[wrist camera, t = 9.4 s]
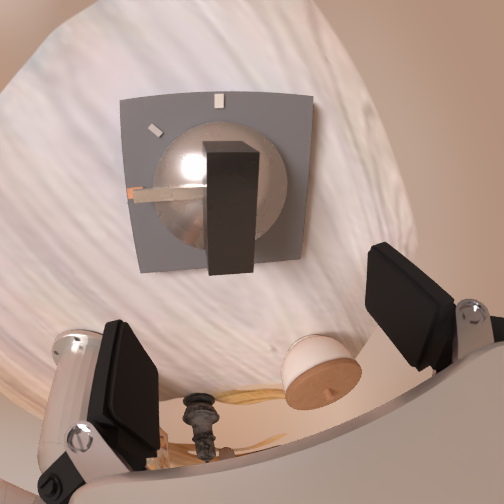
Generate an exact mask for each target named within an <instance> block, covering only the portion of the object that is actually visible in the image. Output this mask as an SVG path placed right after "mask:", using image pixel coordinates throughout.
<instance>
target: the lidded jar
mask: <svg viewBox="0 0 504 504" xmlns="http://www.w3.org/2000/svg"><path fill="white" fill-rule="evenodd" d="M361 374H362V369H361V367H360V365H359V364H358V363H357V361H356V360H355V359H354V357H353V356H352V354H351V353H350V352H349V350H348V349H347V348H346V347H345V346H344V345H343V344H342V343H340V342H339V341H337V340H336V339H333V338H330V337H326V336H321V335H308V336H305V337H303V338H301V339H299V340H297V341H296V342H295V343H293V344H292V345H291V347H290V348H289V350H288V353H287V354H286V356H285V358H284V360H283V363H282V367H281V380H282V385H283V389H284V392H285V396H286V401H287V403H288V405H289V406H290V407H292V408H294V409H297V410H312V409H316V408H320V407H323V406H326V405H329V404H331V403H333V402H335V401H337V400H339V399H340V398H342V397H343V396H345V395H346V394H347V393H349V392H350V391H351V390H352V389H353V388H354V387H355V386H356V385H357V383H358V382H359V380H360V378H361Z"/></svg>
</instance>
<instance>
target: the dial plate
mask: <svg viewBox="0 0 504 504" xmlns="http://www.w3.org/2000/svg"><path fill="white" fill-rule="evenodd" d="M312 116H313V96H306V95H296V94H284V93H268V92H232V91H229V92H193V93H178V94H166V95H156V96H147V97H139V98H132V99H126V100H120V121H121V139H122V152H123V163H124V173H125V182H126V191H127V198H128V206H129V212H130V219H131V225H132V231H133V237H134V243H135V248H136V253H137V258H138V263H139V268H140V273H151V272H163V271H175V270H187V269H199V268H208V266H207V259H206V251H205V250H202V249H198V248H195V247H192V246H189V245H187V244H186V243H184V242H182V241H180V240H179V239H178V238H176V237H175V236H174V235H173V234H172V233H170V232H169V230H168V229H167V228H166V227H165V226H164V224H163V223H162V221H161V219H160V218H159V216H158V213H157V211H156V208H155V205H154V202H144V203H134V198H133V190H134V189H144V188H153V179H154V174H155V170H156V167H157V165H158V163H159V160H160V158H161V157H162V155H163V154H164V152H165V150H166V149H167V148H168V146H169V145H170V144H171V143H172V142H173V141H174V140H175V139H176V138H177V137H178V136H179V135H181V134H182V133H184V132H185V131H187V130H189V129H190V128H192V127H194V126H197V125H200V124H203V123H208V122H214V121H227V122H234V123H238V124H242V125H245V126H247V127H250V128H252V129H254V130H256V131H258V132H259V133H261V134H262V135H263V136H265V137H266V138H267V139H268V140H269V141H270V142H271V143H272V144H273V145H274V147H275V148H276V149H277V151H278V152H279V154H280V156H281V158H282V160H283V162H284V165H285V169H286V173H287V194H286V199H285V203H284V206H283V208H282V211H281V213H280V215H279V216H278V218H277V220H276V221H275V222H274V224H273V225H272V226H271V227H270V228H269V229H268V230H267V231H266V232H265V233H264V234H263V235H262V236H261V237H259V238H258V239H256V240H255V251H254V263H265V262H275V261H286V260H296V259H300V258H301V249H302V240H303V231H304V221H305V211H306V201H307V189H308V177H309V164H310V150H311V135H312Z"/></svg>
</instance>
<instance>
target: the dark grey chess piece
mask: <svg viewBox="0 0 504 504" xmlns="http://www.w3.org/2000/svg"><path fill="white" fill-rule="evenodd" d="M214 402H215V399H214V397H213V396H212V395H209V394H206V393H194V394H190V395H188V396H186V397H185V398H184V399H183V403H184V405H185V406H187V408H186V410H185V413H184V416H183V421H184V422H185V423H186V424H188V425H191V426H192V428H193V434H194V437H193V438H192V440H193V441H194V442H195V446H196V452H197V457H198V458H199V459H201V460H204V461H206V462H205V463H210V462H209V461H210V460H212V459H213V458H214V457H215V456H216V453H215V447H214V440H215V438H216V437H215V436H213V432H212V424H214V423H216V422H217V421H218V420H219V415H218V414H217V412H216V410H215V409H214V407H213V406H212V405H213V404H214Z"/></svg>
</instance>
